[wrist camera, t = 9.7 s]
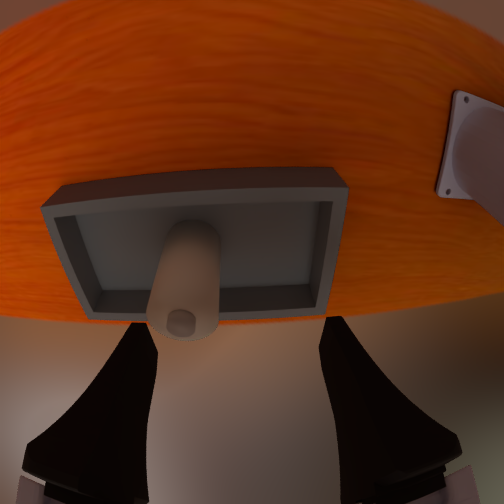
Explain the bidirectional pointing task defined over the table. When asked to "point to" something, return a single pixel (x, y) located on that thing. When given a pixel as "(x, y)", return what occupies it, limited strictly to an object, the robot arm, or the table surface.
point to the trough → (216, 215)
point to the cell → (187, 283)
